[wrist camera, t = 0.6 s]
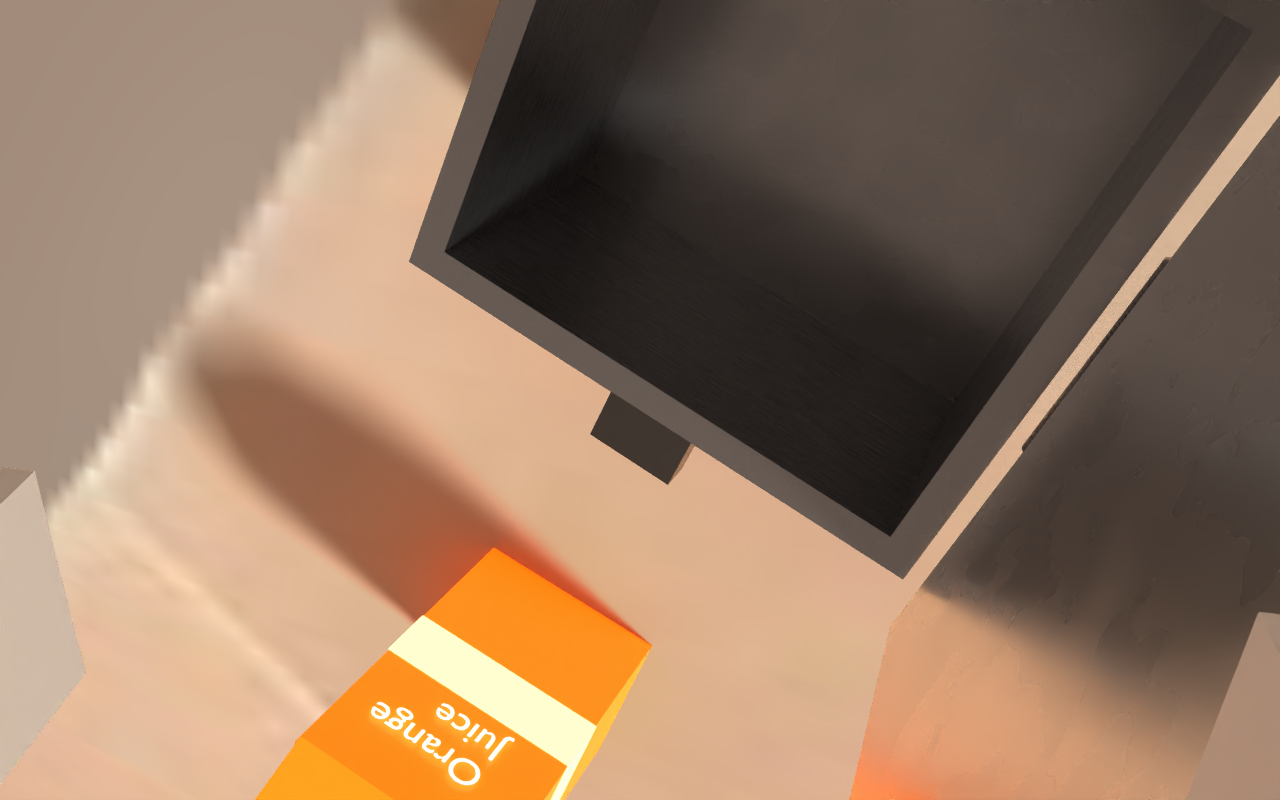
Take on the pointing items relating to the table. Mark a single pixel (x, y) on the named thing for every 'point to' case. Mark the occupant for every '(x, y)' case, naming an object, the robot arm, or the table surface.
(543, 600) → the orange juice
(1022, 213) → the grey storage box
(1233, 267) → the gray box lid
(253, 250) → the table surface
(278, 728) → the table surface
